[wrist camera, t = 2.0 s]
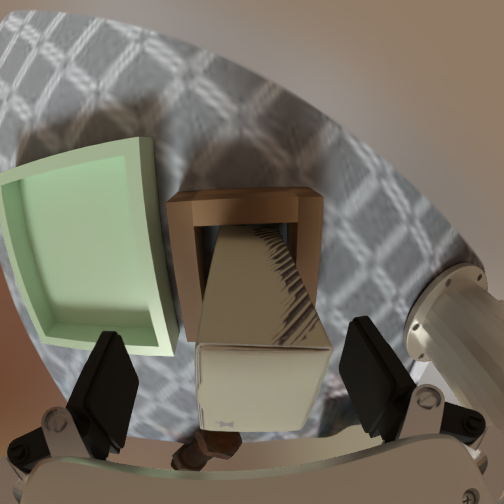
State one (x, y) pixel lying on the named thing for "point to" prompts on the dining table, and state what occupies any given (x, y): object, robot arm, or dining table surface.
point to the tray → (91, 246)
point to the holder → (240, 212)
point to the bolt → (206, 449)
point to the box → (257, 337)
